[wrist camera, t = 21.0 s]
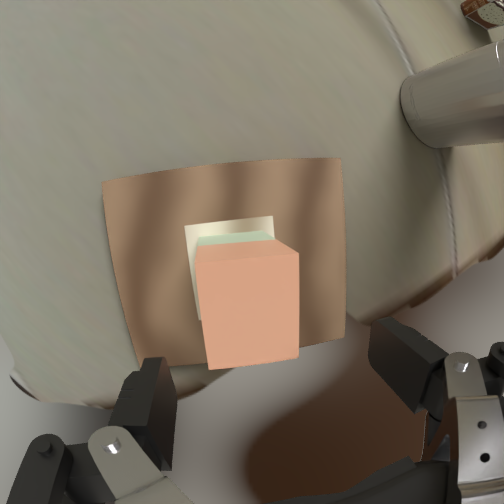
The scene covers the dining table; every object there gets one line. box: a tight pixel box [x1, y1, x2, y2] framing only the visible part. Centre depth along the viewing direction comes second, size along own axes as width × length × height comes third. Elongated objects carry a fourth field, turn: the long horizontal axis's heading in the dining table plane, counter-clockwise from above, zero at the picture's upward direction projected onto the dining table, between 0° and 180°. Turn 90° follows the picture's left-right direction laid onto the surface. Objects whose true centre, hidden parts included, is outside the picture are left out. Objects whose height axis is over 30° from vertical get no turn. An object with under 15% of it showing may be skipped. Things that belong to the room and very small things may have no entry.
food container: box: [461, 0, 504, 30], centre depth 17 cm, size 12×6×10 cm, turn 102°
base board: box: [102, 158, 346, 368], centre depth 23 cm, size 20×17×2 cm
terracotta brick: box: [194, 239, 299, 370], centre depth 16 cm, size 5×6×4 cm
